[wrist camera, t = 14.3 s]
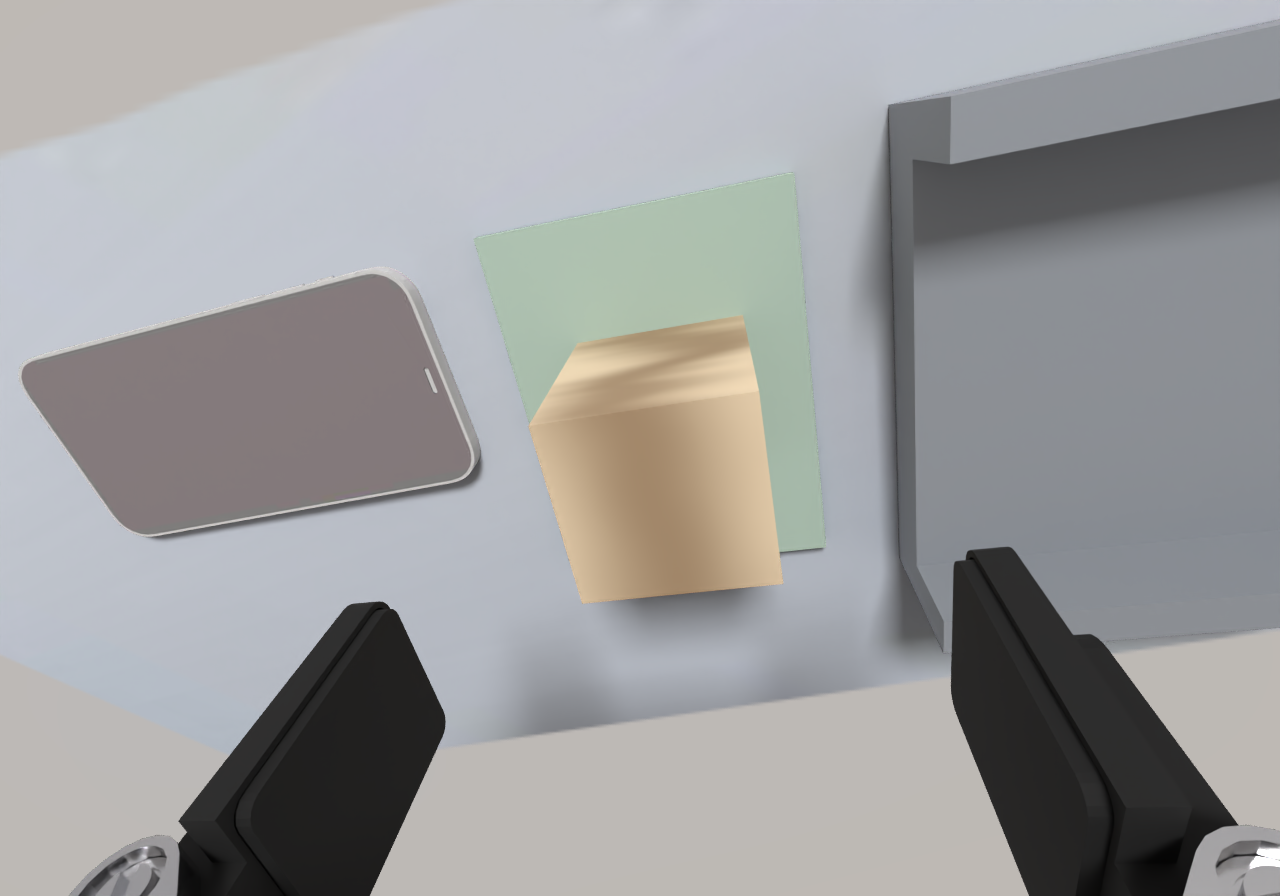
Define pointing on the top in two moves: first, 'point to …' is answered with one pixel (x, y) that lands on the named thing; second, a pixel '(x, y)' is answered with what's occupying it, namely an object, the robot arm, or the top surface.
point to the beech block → (660, 464)
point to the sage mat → (675, 307)
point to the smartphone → (260, 406)
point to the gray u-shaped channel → (1096, 335)
